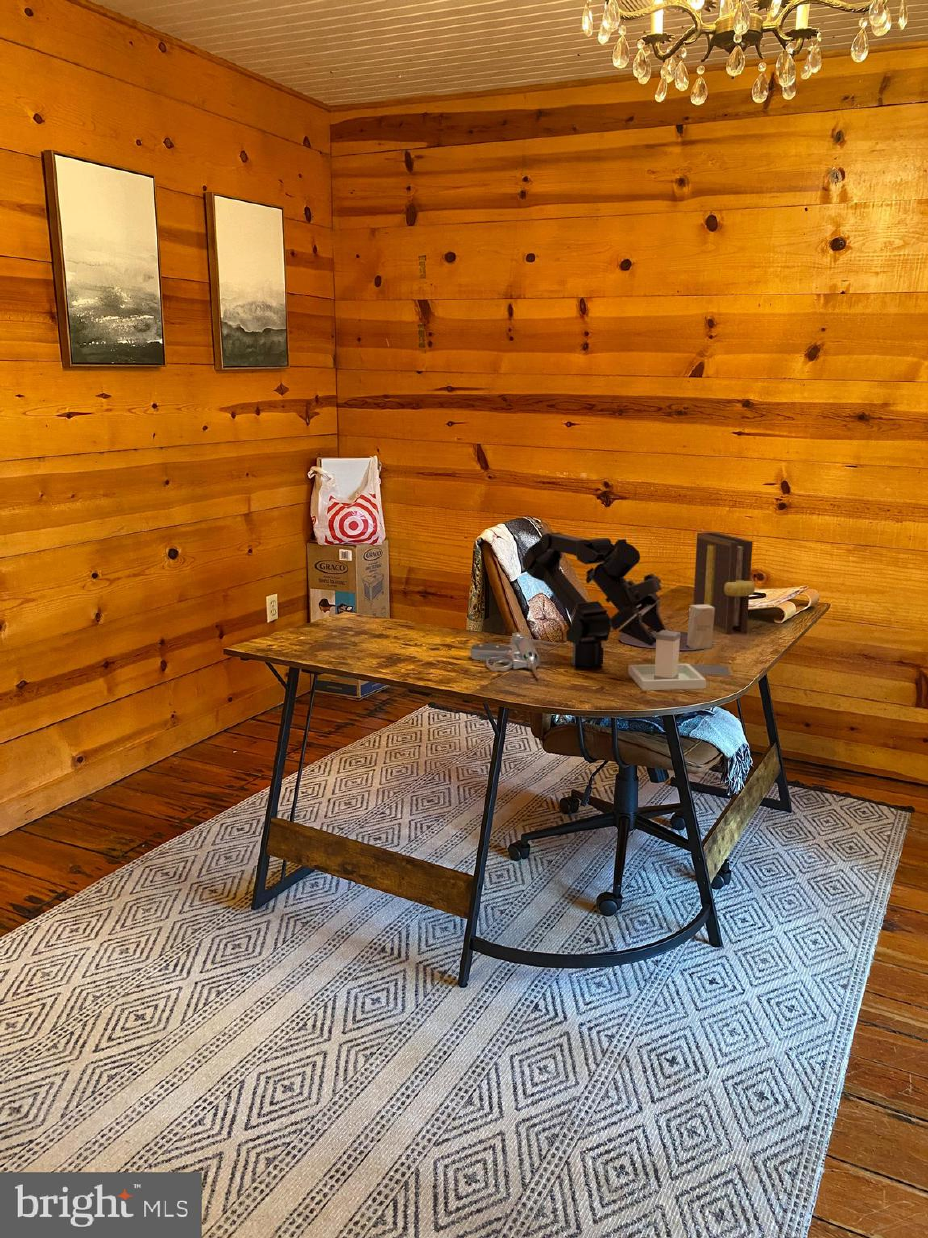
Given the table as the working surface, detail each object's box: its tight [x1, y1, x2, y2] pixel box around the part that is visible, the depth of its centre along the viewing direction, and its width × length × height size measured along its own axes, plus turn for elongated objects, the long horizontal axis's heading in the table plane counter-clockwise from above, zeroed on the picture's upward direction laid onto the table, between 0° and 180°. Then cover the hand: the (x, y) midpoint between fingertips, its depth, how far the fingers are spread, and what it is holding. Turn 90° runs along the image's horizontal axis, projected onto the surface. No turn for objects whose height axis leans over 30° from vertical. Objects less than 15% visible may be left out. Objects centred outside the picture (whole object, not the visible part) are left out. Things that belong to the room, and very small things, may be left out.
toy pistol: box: [469, 631, 541, 680], centre depth 230 cm, size 6×28×16 cm
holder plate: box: [688, 663, 731, 677], centre depth 224 cm, size 10×8×1 cm
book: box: [692, 531, 756, 636], centre depth 265 cm, size 22×8×25 cm, turn 17°
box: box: [686, 604, 715, 650], centre depth 244 cm, size 5×4×11 cm
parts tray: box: [627, 663, 707, 691], centre depth 216 cm, size 14×13×2 cm
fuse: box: [654, 629, 682, 680], centre depth 214 cm, size 4×4×11 cm
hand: (659, 639), depth 215 cm, fingers open, 9 cm apart
